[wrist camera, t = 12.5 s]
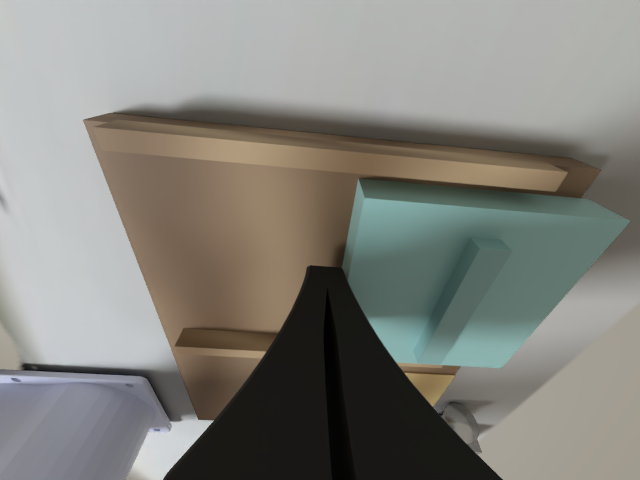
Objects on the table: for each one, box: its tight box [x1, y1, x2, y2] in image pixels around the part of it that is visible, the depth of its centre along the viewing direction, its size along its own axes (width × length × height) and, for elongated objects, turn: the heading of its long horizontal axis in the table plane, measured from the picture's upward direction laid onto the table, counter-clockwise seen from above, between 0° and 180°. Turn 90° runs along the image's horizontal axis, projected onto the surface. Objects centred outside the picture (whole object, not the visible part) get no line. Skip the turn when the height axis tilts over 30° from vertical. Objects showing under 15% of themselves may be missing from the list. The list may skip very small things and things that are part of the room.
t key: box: [441, 403, 482, 454], centre depth 21 cm, size 7×2×6 cm
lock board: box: [83, 113, 601, 420], centre depth 13 cm, size 16×20×3 cm
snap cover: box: [342, 178, 630, 368], centre depth 10 cm, size 8×8×2 cm
